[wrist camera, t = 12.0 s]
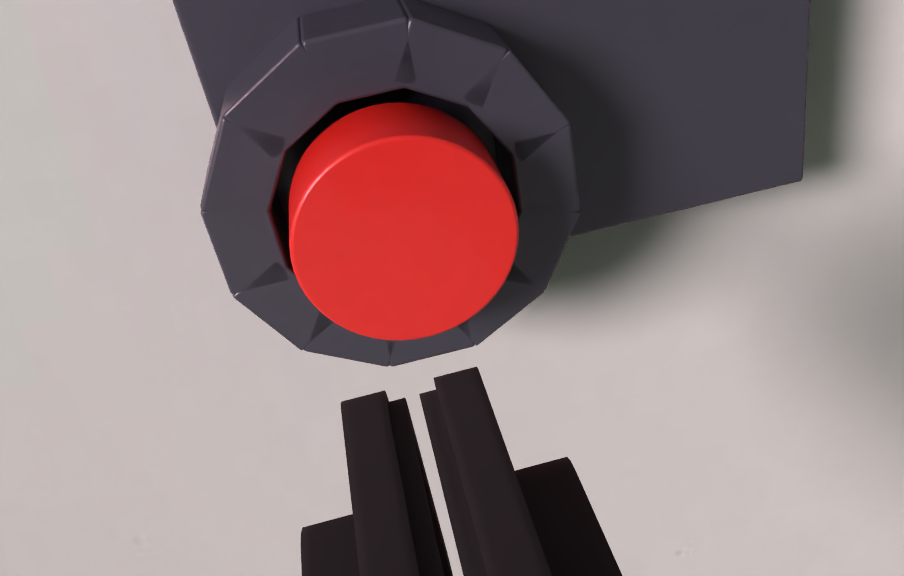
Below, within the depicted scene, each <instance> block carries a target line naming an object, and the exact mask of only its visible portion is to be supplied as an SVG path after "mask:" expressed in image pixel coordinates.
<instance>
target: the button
mask: <svg viewBox="0 0 904 576" xmlns="http://www.w3.org/2000/svg"><path fill="white" fill-rule="evenodd" d="M518 240H519V223H518V215H517V211H516V206H515V203H514V200H513V198H512V195H511V193H510V191H509V189H508V187H507V185H506V183H505V181H504V179H503V178H502V176H501V174H500V172H499V170H498V168H497V166H496V165H495V163H494V161H493V159H492V157H491V155H490V154H489V152H488V150H487V148H486V147H485V145H484V144H483V143H482V141H481V140H480V139H479V138H478V136H477V135H476V134H475V133H474V132H473V131H472V130H471V129H470V128H469V127H468V126H466V125H465V124H463V123H462V122H461V121H459V120H458V119H456V118H455V117H453V116H451V115H449V114H447V113H445V112H443V111H440V110H438V109H435V108H432V107H429V106H424V105H420V104H414V103H402V102H401V103H384V104H378V105H372V106H369V107H366V108H362V109H359V110H357V111H354V112H352V113H350V114H348V115H345V116H344V117H342V118H340V119H339V120H337V121H335V122H334V123H332V124H331V125H330V126H329V127H327V128H326V129H325V130H324V131H322V132H321V133H320V134H319V135H318V136H317V137H316V138H315V139H314V140H313V141H312V143H311V144H310V145H309V147H308V148H307V149H306V151H305V152H304V154H303V155H302V157H301V159H300V161H299V163H298V165H297V167H296V170H295V172H294V175H293V178H292V182H291V187H290V192H289V248H290V258H291V262H292V266H293V271H294V273H295V276H296V278H297V281H298V283H299V285H300V287H301V288H302V290H303V292H304V293H305V295H306V296H307V297H308V299H309V300H310V301H311V302H312V304H313V305H314V306H315V307H316V308H317V309H318V310H319V311H320V312H321V313H322V314H324V315H325V316H326V317H328V318H329V319H330V320H332V321H333V322H334V323H336V324H338V325H340V326H342V327H343V328H345V329H347V330H349V331H352V332H355V333H357V334H360V335H363V336H367V337H371V338H376V339H383V340H400V341H402V340H414V339H420V338H425V337H430V336H433V335H436V334H440V333H443V332H445V331H447V330H450V329H452V328H454V327H456V326H458V325H460V324H462V323H463V322H465V321H467V320H468V319H470V318H471V317H473V316H474V315H475V314H477V313H478V312H479V311H480V310H481V309H483V308H484V307H485V306H486V305H487V304H488V303H489V302H490V301H491V300H492V298H493V297H494V296H495V295H496V294H497V293H498V291H499V290H500V288H501V287H502V285H503V284H504V282H505V280H506V278H507V276H508V274H509V272H510V271H511V268H512V265H513V262H514V259H515V257H516V252H517V247H518Z"/></svg>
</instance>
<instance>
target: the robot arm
mask: <svg viewBox="0 0 904 576" xmlns="http://www.w3.org/2000/svg"><path fill="white" fill-rule="evenodd" d="M434 382H435V386H436V390H433V391H429V392H426V393H422V394H419V395H420V399H421V403H422V407H423V411H424V415H425V419H426V423H427V428H428V432H429V436H430V440H431V444H432V448H433V452H434V456H435V460H436V464H437V468H438V473H439V477H440V481H441V485H442V489H443V493H444V497H445V501H446V505H447V509H448V514H449V518H450V522H451V526H452V530H453V534H454V538H455V542H456V546H457V550H458V554H459V559H460V563H461V567H462V571H463V575H464V576H622V574H621V572H620V569H619V567H618V565H617V563H616V560H615V558H614V556H613V554H612V551H611V549H610V547H609V545H608V542H607V540H606V538H605V536H604V533H603V531H602V529H601V527H600V525H599V522H598V520H597V518H596V516H595V513H594V511H593V509H592V507H591V504H590V502H589V500H588V498H587V495H586V493H585V491H584V489H583V486H582V484H581V482H580V480H579V477H578V475H577V473H576V471H575V469H574V467H573V465H572V463H571V461H570V460H569V459H568V457H565V458H561V459H557V460H554V461H550V462H546V463H542V464H539V465H535V466H531V467H527V468H524V469H520V470H516V471H514V468H513V465H512V463H511V460H510V457H509V454H508V451H507V448H506V446H505V443H504V440H503V437H502V434H501V432H500V429H499V426H498V423H497V420H496V418H495V415H494V412H493V409H492V406H491V404H490V401H489V398H488V395H487V392H486V389H485V387H484V384H483V381H482V378H481V375H480V373H479V370H478V368H477V367H474V368H470V369H466V370H462V371H458V372H454V373H451V374H447V375H443V376H439V377H435V378H434ZM341 413H342V421H343V430H344V439H345V448H346V457H347V466H348V475H349V484H350V492H351V501H352V510H353V514H352V515H348V516H344V517H340V518H337V519H333V520H329V521H326V522H322V523H318V524H314V525H311V526H307V527H303V528H302V532H301V562H302V576H453V574H452V570H451V566H450V562H449V558H448V554H447V550H446V547H445V543H444V539H443V535H442V532H441V528H440V524H439V521H438V517H437V513H436V509H435V506H434V502H433V498H432V494H431V491H430V487H429V483H428V480H427V476H426V472H425V468H424V465H423V461H422V457H421V454H420V450H419V446H418V442H417V439H416V435H415V431H414V428H413V424H412V420H411V416H410V413H409V409H408V405H407V402H406V399H405V398H402V399H399V400H395V401H391V402H389V401H388V397H387V394H386V392H385V391H381V392H377V393H373V394H370V395H366V396H362V397H358V398H354V399H350V400H346V401H343V402H341Z"/></svg>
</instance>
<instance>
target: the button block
mask: <svg viewBox="0 0 904 576" xmlns="http://www.w3.org/2000/svg"><path fill="white" fill-rule="evenodd" d="M173 3H174V6H175V9H176V12H177V15H178V18H179V21H180V23H181V26H182V29H183V32H184V35H185V38H186V41H187V44H188V47H189V49H190V52H191V55H192V58H193V61H194V64H195V67H196V70H197V73H198V75H199V78H200V81H201V84H202V87H203V90H204V93H205V96H206V99H207V101H208V104H209V107H210V110H211V113H212V116H213V119H214V122H215V125H216V127H217V131H216V135H215V139H214V143H213V148H212V152H211V156H210V161H209V165H208V169H207V174H206V179H205V185H204V190H203V195H202V201H201V215H202V218H203V221H204V223H205V226H206V228H207V231H208V234H209V236H210V239H211V242H212V244H213V247H214V250H215V252H216V255H217V258H218V260H219V263H220V266H221V268H222V271H223V273H224V276H225V279H226V281H227V284H228V287H229V289H230V292H231V293H232V294H233V297H234V298H235V299H236V300H238V301H239V302H240V303H242V304H243V305H244V306H245V307H247V308H248V309H249V310H251V311H252V312H253V313H254V314H256V315H257V316H258V317H259V318H261V319H262V320H263V321H265V322H266V323H267V324H268V325H270V326H271V327H272V328H274V329H275V330H276V331H277V332H279V333H280V334H281V335H282V336H284V337H285V338H286V339H288V340H289V341H290V342H291V343H293V344H294V345H295V346H297V347H298V348H299V349H300V350H303V349H304V350H305V351H308V352H313V353H318V354H324V355H329V356H334V357H339V358H345V359H350V360H355V361H360V362H365V363H371V364H376V365H381V366H389V365H390V366H396V365H400V364H405V363H409V362H413V361H417V360H421V359H425V358H429V357H433V356H437V355H441V354H445V353H449V352H453V351H457V350H461V349H465V348H469V347H473V346H474V345H478V344H479V343H481V342H482V341H483V340H485V339H486V338H487V337H488V336H490V335H491V334H492V333H493V332H495V331H496V330H497V329H498V328H500V327H501V326H502V325H503V324H505V323H506V322H507V321H508V320H510V319H511V318H512V317H513V316H515V315H516V314H517V313H518V312H520V311H521V310H522V309H523V308H525V307H526V306H527V305H528V304H530V303H531V302H532V301H533V300H535V299H536V298H537V297H538V296H540V295H541V294H542V293H543V292H544V290H545V289H546V287H547V285H548V283H549V281H550V278H551V276H552V274H553V272H554V270H555V267H556V265H557V263H558V261H559V258H560V256H561V254H562V252H563V250H564V247H565V245H566V243H567V241H568V239H569V237H571V236H575V235H580V234H584V233H588V232H592V231H596V230H600V229H604V228H608V227H612V226H617V225H621V224H625V223H629V222H633V221H637V220H641V219H645V218H650V217H654V216H658V215H662V214H666V213H670V212H674V211H678V210H682V209H687V208H691V207H695V206H699V205H703V204H707V203H711V202H715V201H720V200H724V199H728V198H732V197H736V196H740V195H744V194H748V193H752V192H757V191H761V190H765V189H769V188H773V187H777V186H781V185H785V184H790V183H794V182H798V181H801V180H802V178H803V159H804V135H805V112H806V88H807V65H808V41H809V18H810V0H173ZM401 102H402V103H414V104H420V105H424V106H429V107H432V108H435V109H438V110H440V111H443V112H445V113H447V114H449V115H451V116H453V117H455V118H456V119H458V120H459V121H461V122H462V123H463V124H465V125H466V126H468V127H469V128H470V129H471V130H472V131H473V132H474V133H475V134H476V135H477V136H478V138H479V139H480V140H481V141H482V143H483V144H484V145H485V147H486V148H487V150H488V152H489V154H490V155H491V157H492V159H493V161H494V163H495V165H496V166H497V168H498V170H499V172H500V174H501V176H502V178H503V179H504V181H505V183H506V185H507V187H508V189H509V191H510V193H511V195H512V198H513V200H514V203H515V206H516V211H517V215H518V223H519V240H518V247H517V252H516V257H515V259H514V262H513V265H512V268H511V271H510V272H509V274H508V276H507V278H506V280H505V282H504V284H503V285H502V287H501V288H500V290H499V291H498V293H497V294H496V295H495V296H494V297H493V298H492V300H491V301H490V302H489V303H488V304H487V305H486V306H485V307H484V308H483V309H481V310H480V311H479V312H478V313H477V314H475V315H474V316H473V317H471V318H470V319H468V320H467V321H465V322H463V323H462V324H460V325H458V326H456V327H454V328H452V329H450V330H447V331H445V332H443V333H440V334H436V335H433V336H430V337H425V338H420V339H414V340H402V341H400V340H383V339H376V338H371V337H367V336H363V335H360V334H357V333H355V332H352V331H349V330H347V329H345V328H343V327H342V326H340V325H338V324H336V323H334V322H333V321H332V320H330V319H329V318H328V317H326V316H325V315H324V314H322V313H321V312H320V311H319V310H318V309H317V308H316V307H315V306H314V305H313V304H312V302H311V301H310V300H309V299H308V297H307V296H306V295H305V293H304V292H303V290H302V288H301V287H300V285H299V283H298V281H297V278H296V276H295V273H294V271H293V266H292V262H291V258H290V248H289V192H290V187H291V182H292V178H293V175H294V172H295V170H296V167H297V165H298V163H299V161H300V159H301V157H302V155H303V154H304V152H305V151H306V149H307V148H308V147H309V145H310V144H311V143H312V141H313V140H314V139H315V138H316V137H317V136H318V135H319V134H320V133H321V132H322V131H324V130H325V129H326V128H327V127H329V126H330V125H331V124H332V123H334V122H335V121H337V120H339V119H340V118H342V117H344V116H345V115H348V114H350V113H352V112H354V111H357V110H359V109H362V108H366V107H369V106H372V105H378V104H384V103H401Z"/></svg>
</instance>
